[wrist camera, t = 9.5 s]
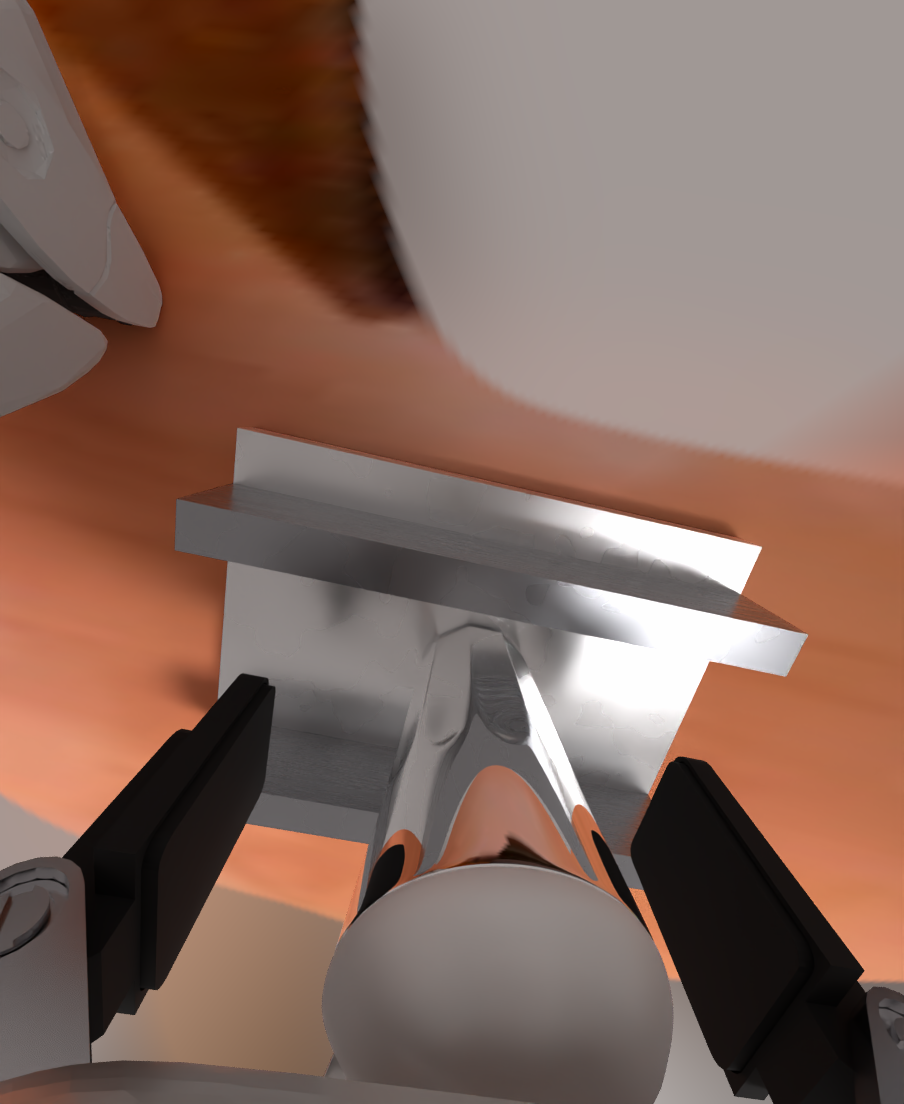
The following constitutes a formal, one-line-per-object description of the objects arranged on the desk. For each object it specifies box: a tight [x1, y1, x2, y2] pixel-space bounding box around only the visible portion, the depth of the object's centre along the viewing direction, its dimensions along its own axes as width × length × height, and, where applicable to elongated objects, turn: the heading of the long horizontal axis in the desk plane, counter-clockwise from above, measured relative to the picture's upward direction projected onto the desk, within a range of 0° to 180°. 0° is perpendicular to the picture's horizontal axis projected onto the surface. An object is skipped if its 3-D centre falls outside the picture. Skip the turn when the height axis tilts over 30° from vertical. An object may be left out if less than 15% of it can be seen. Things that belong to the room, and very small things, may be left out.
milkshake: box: [322, 626, 673, 1104], centre depth 9 cm, size 4×5×10 cm
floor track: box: [175, 427, 808, 890], centre depth 13 cm, size 15×12×4 cm
